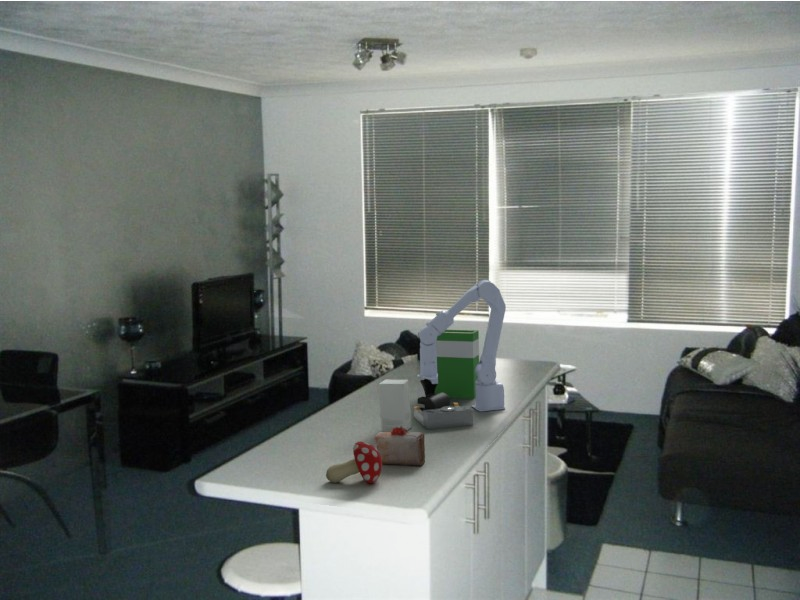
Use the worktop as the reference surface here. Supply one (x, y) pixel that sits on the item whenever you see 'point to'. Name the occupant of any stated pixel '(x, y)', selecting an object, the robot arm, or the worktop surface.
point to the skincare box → (394, 404)
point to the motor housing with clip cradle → (445, 416)
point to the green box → (457, 363)
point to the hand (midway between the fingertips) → (429, 400)
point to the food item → (401, 447)
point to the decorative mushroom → (358, 464)
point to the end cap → (434, 401)
